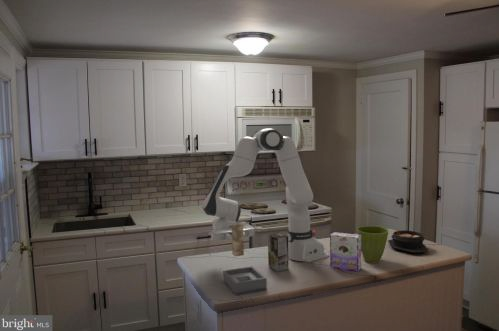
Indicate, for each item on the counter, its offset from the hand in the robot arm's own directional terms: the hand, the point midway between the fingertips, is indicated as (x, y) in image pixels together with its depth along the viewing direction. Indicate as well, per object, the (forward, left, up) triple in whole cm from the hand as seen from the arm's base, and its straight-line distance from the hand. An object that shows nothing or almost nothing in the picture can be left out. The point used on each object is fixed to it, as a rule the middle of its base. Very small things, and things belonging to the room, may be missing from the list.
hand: (238, 237), depth 182 cm
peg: (0, -1, -8) cm, 8 cm away
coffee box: (-23, -8, -20) cm, 32 cm away
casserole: (-100, -5, -20) cm, 102 cm away
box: (0, +6, -20) cm, 21 cm away
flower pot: (-70, +3, -20) cm, 73 cm away
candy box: (-52, +6, -20) cm, 56 cm away
